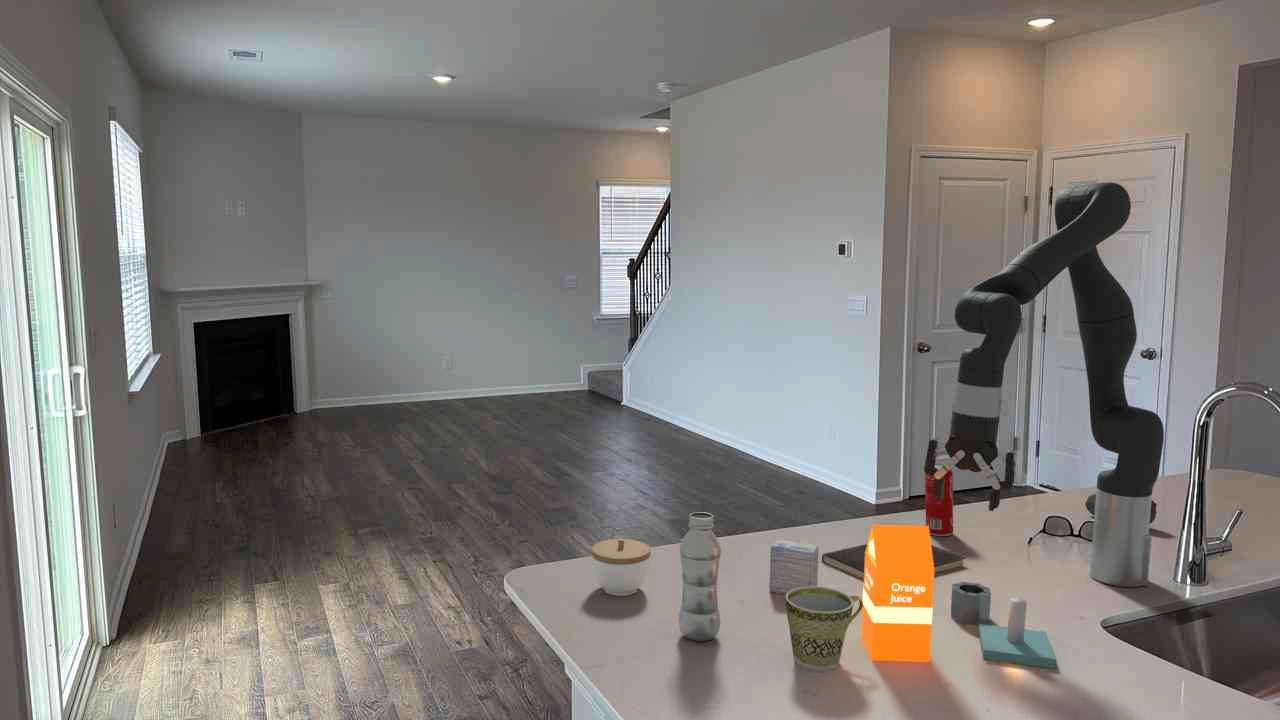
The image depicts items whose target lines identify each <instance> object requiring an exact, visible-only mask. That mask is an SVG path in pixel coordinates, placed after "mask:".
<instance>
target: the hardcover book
mask: <svg viewBox="0 0 1280 720" xmlns="http://www.w3.org/2000/svg"><path fill="white" fill-rule="evenodd" d="M867 544H868V543H866V544H861V545H856V546H851V547H847V548H843V549H838V550H834V551H830V552H824V553H823V554H822V555H821V562H822V561H823V562H824V561H826V562H828V563H830V564H829V565H831V564H832V565H831V566H833V565H835V566H837V567H839V568H838V569H840V568H841V569H840V570H842V569H844V570H846V571H845V572H847V571H848V572H847V573H849V572H850V573H849V574H851V573H852V574H851V575H853V574H855V575H854V576H856V575H857V576H856V577H858V576H859V577H858V578H860V577H861V578H860V579H862V578H864V566H865V551H866V548H867ZM931 548H932V556H933V564H934V569H935V570H934V574H935V573H939V572H942V571H947V570H950V569H954V568H958V567H962V566H963V564H964V560H966V556H963V555H959V554H956V553H954V552H951V551H949V550H946V549H943V548H940V547H938V546H934V545H933V544H931ZM826 562H825V563H826ZM828 563H827V564H828ZM835 566H834V567H835ZM837 567H836V568H837ZM844 570H843V571H844Z"/></svg>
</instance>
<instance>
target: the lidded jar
mask: <svg viewBox="0 0 1280 720" xmlns="http://www.w3.org/2000/svg"><path fill="white" fill-rule="evenodd" d="M651 549H652V548H651V547H650V546H649V545H648V544H647V543H645V542H643V541H639V540H636V539H635V540H634V539H629V538H627V539H626V538H613V539H606V540H605V539H604V540H602V541H600V542H597V543H594V544H593V546H592V547H591V553H590V554H591V565H592V571H593V572H592V573H593V577H594V578H595V580H596V582H597V584H598V585H599V586H600V587H601V588H602V589H603V591H604V593H606V594H608V595H610V596H615V597H616V596H617V597H625V596H631V595H633V594H635V593H638V590H639V589H640V588H641V587H642V585H644V583H645V581H646V580H647V577H648V575H649V571H650V563H651V554H652V553H651V552H652V551H651Z"/></svg>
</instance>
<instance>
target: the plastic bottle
mask: <svg viewBox="0 0 1280 720" xmlns="http://www.w3.org/2000/svg"><path fill="white" fill-rule="evenodd" d="M688 527H689V531H688V532H687V533H685V535H684V537H683V538H682V540H681V542H680V545H679V556H680V561H681V571H682V572H681V573H682V580H683V581H682V595H681V596H682V597H681V603H680V604H681V605H680V606H681V607H680V609H679V614H678V625H679V630H680V633H681V634H682V635H683V637H685V638H686V639H689V640H692V641H698V642H699V641H700V642H704V641H710V640H713V639H714V638H716V636H717V635H718V634H719V632H720V627H721V617H720V612H719V605H718V592H717V589H718V575H719V567H720V561H721V555H722V546H721V543H720V541H719V540H718V539H719V538H717V536H716V534H715V532H713V531H712V529H714V527H715V526H714V515H713V514H711V513H708V512H704V511H703V512H701V511H698V512H692V513H690V514H689V522H688Z"/></svg>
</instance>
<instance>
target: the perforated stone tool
mask: <svg viewBox="0 0 1280 720" xmlns="http://www.w3.org/2000/svg"><path fill="white" fill-rule="evenodd" d="M1095 502H1096V493H1093V494H1090V495H1089V496H1088V497H1087V499H1086V501H1085V503H1084V505H1085V508H1086V510H1087V511H1088V512H1089V513H1090V514H1091V515H1093V516H1094V515H1095ZM1157 513H1158V512H1157V503H1156V502H1155V501H1154V500H1153V499H1151V511H1150V522H1149V525H1151V524H1152V523H1153V522H1154V521H1155V519H1156V517H1157Z"/></svg>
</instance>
